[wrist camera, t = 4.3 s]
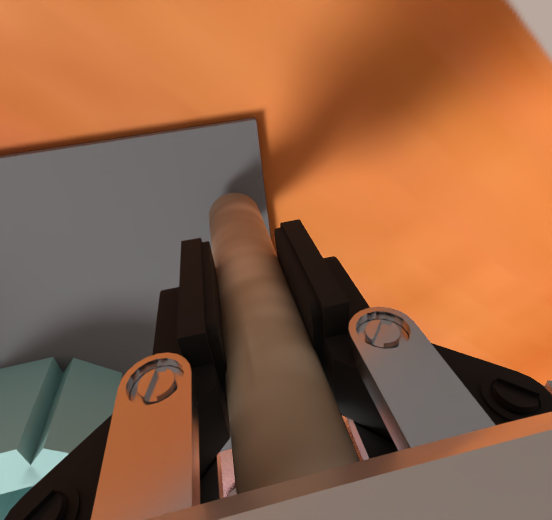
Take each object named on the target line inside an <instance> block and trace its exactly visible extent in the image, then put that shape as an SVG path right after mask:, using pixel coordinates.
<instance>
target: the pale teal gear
mask: <svg viewBox="0 0 552 520" xmlns="http://www.w3.org/2000/svg"><path fill="white" fill-rule="evenodd" d="M121 378H122V373H121V372H118V371H115V370H112V369H108V368H105V367H102V366H99V365H95V364H92V363H89V362H86V361H82V360H79V359H76V358H73V359H72V361H71V362H70V363H69V365H68V366H67V368H66V369H65V371H64V372H62V370H61V368H60V367H59V365H58V364H57V362H56V361H55V359H54V357H50V358H46V359H41V360H37V361H32V362H28V363H24V364H19V365H15V366H10V367H6V368H1V369H0V520H4V519H5V517H6V516H7V514H8V512H9V511H10V509H11V508H12V507H13V506H14V505H15V504H16V503H17V502H18V501H19V500H20V499H21V498H22V496H23V495H25V494H26V493H27V492H28V491H29V490H30V489H31V488H32V487H33V486H34V485H35V484H36V483H38V482H39V481H40V480H41V479H42V478H43V477H44V476H45V475H46V474H47V473H48V472H50V471H51V470H52V469H53V468H54V467H55V466H56V465H57V464H58V463H59V462H60V461H62V460H63V459H64V458H65V457H66V456H67V455H68V454H69V453H70V452H71V451H72V450H74V449H75V448H76V447H77V446H78V445H79V444H80V443H81V442H82V441H83V440H84V439H86V438H87V437H88V436H89V435H90V434H91V433H92V432H93V431H94V430H95V429H96V428H97V427H99V426H100V425H101V424H102V423H103V422H104V421H105V420H106V419H107V418H108V417H109V416H111V415H112V414H113V410H114V405H115V400H116V395H117V390H118V387H119V384H120V382H121Z"/></svg>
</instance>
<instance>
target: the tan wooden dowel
mask: <svg viewBox="0 0 552 520" xmlns="http://www.w3.org/2000/svg"><path fill="white" fill-rule="evenodd" d="M209 227H210V237H211V247H212V255H213V259H214V264H215V268H216V276H217V285H218V294H219V303H220V312H221V321H222V330H223V339H224V348H225V357H226V366H227V370H226V374H225V385H226V395H227V405H228V415H229V424H230V434H231V444H232V454H233V464H234V474H235V483H236V493H237V494H240V493H244V492H248V491H251V490H255V489H259V488H262V487H266V486H270V485H274V484H277V483H281V482H285V481H288V480H292V479H296V478H300V477H303V476H307V475H311V474H314V473H318V472H322V471H326V470H329V469H333V468H337V467H341V466H344V465H348V464H352V463H356V462H359V461H360V460H359V458H358V455H357V453H356V450H355V448H354V445H353V443H352V440H351V438H350V435H349V433H348V430H347V428H346V425H345V423H344V420H343V418H342V415H341V413H340V410H339V408H338V405H337V403H336V400H335V398H334V395H333V393H332V390H331V388H330V385H329V383H328V380H327V378H326V375H325V373H324V370H323V368H322V366H321V363H320V361H319V358H318V356H317V353H316V352H315V350H314V348H313V346H312V343H311V341H310V338H309V336H308V333H307V331H306V328H305V326H304V323H303V321H302V318H301V316H300V313H299V311H298V308H297V306H296V303H295V300H294V298H293V295H292V293H291V290H290V288H289V285H288V283H287V280H286V278H285V275H284V273H283V270H282V268H281V265H280V263H279V260H278V258H277V253H276V251H275V248H274V246H273V243H272V241H271V238H270V236H269V233H268V231H267V228H266V226H265V223H264V221H263V218H262V216H261V213H260V211H259V208H258V206H257V204H256V203H255V201H254V200H253V199H251V198H250V197H249V196H247V195H244V194H241V193H229V194H225V195H223V196H221V197H219V198H218V199H217V200H216V201H215V202H214V203H213V204H212V206H211V208H210V211H209Z"/></svg>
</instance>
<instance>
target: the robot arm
mask: <svg viewBox="0 0 552 520" xmlns="http://www.w3.org/2000/svg"><path fill="white" fill-rule="evenodd" d="M275 241H276V249H277V258H278V260H279V263H280V265H281V268H282V270H283V273H284V275H285V278H286V280H287V283H288V285H289V288H290V290H291V293H292V295H293V298H294V300H295V303H296V306H297V308H298V311H299V313H300V316H301V318H302V321H303V323H304V326H305V328H306V331H307V333H308V336H309V338H310V341H311V343H312V346H313V348H314V350H315V352H316V353H317V356H318V358H319V361H320V363H321V366H322V368H323V370H324V373H325V375H326V378H327V380H328V383H329V385H330V388H331V390H332V393H333V395H334V398H335V400H336V403H337V405H338V408H339V410H340V413H341V415H343V416H345V417H347V419H348V423H349V427H350V429H351V432H352V434H353V437H354V439H355V441H356V444H357V446H358V449H359V451H360V454H361V456H362V459H363V461H359V462H356V463H352V464H348V465H344V466H341V467H337V468H333V469H329V470H326V471H322V472H318V473H314V474H311V475H307V476H303V477H300V478H296V479H292V480H288V481H285V482H281V483H277V484H274V485H270V486H266V487H262V488H259V489H255V490H251V491H248V492H244V493H240V494H236V495H233V496H229V497H225V498H224V497H223V483H222V470H221V458H220V454H219V452H220V451H221V449H222V448H223V447H224V446H225V444H226V443H227V442H228V440H229V439H230V436H231V434H230V424H229V415H228V405H227V395H226V385H225V374H226V370H227V366H226V357H225V348H224V339H223V330H222V321H221V312H220V303H219V294H218V285H217V276H216V268H215V264H214V259H213V255H212V250H211V246H210V242H209V241H206V242H202V239H201V238H195V239H190V240H184V241H181V256H180V279H179V287H176V288H171V289H166V290H162V291H160V296H159V304H158V312H157V321H156V329H155V337H154V346H153V354H152V356H149V357H146V358H145V359H143V360H141V361H139V362H137V363H136V364H135V365H134V366H133V367H131V368H130V369H129V370H128V371H127V373H126V374H125V375H124V376H123V378H122V379H121V382H120V384H119V387H118V390H117V395H116V400H115V405H114V410H113V414H112V415H111V416H109V417H108V418H107V419H106V420H105V421H104V422H103V423H102V424H101V425H100V426H99V427H97V428H96V429H95V430H94V431H93V432H92V433H91V434H90V435H89V436H88V437H87V438H86V439H84V440H83V441H82V442H81V443H80V444H79V445H78V446H77V447H76V448H75V449H74V450H72V451H71V452H70V453H69V454H68V455H67V456H66V457H65V458H64V459H63V460H62V461H60V462H59V463H58V464H57V465H56V466H55V467H54V468H53V469H52V470H51V471H50V472H48V473H47V474H46V475H45V476H44V477H43V478H42V479H41V480H40V481H39V482H38V483H36V484H35V485H34V486H33V487H32V488H31V489H30V490H29V491H28V492H27V493H26V494H25V495H23V496H22V498H21V499H20V500H19V501H18V502H17V503H16V504H15V505H14V506H13V507H12V508H11V509H10V511H9V512H8V514H7V516H6V517H5V519H4V520H552V381H547V383H546V385H545V386H543V385H541V384H540V383H538V382H537V381H535V380H534V379H532V378H531V377H529V376H526V375H524V374H522V373H519V372H517V371H514V370H511V369H508V368H505V367H502V366H499V365H496V364H493V363H490V362H487V361H484V360H481V359H478V358H475V357H472V356H468V355H465V354H462V353H459V352H456V351H453V350H450V349H447V348H444V347H441V346H438V345H435V344H432V343H430V341H429V340H428V339H427V338H426V336H425V335H424V334H423V333H422V331H421V330H420V329H419V327H418V326H417V325H416V324H415V322H414V321H413V320H412V319H411V318H409V317H408V316H407V315H406V314H404V313H402V312H400V311H398V310H395V309H391V308H386V307H372V308H370V307H369V305H368V304H367V302H366V301H365V299H364V298H363V296H362V295H361V293H360V292H359V290H358V289H357V287H356V286H355V284H354V283H353V281H352V280H351V278H350V277H349V275H348V274H347V272H346V271H345V269H344V268H343V266H342V265H341V263H340V262H339V260H338V259H337V258H336V257H334V256H333V257H328V258H323V257H322V256H321V254H320V252H319V251H318V249H317V247H316V246H315V244H314V243H313V241H312V239H311V238H310V236H309V234H308V233H307V231H306V229H305V228H304V226H303V224H302V223H301V221H300V220H294V221H288V222H283V223H281V224H280V228H277V229H275Z"/></svg>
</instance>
